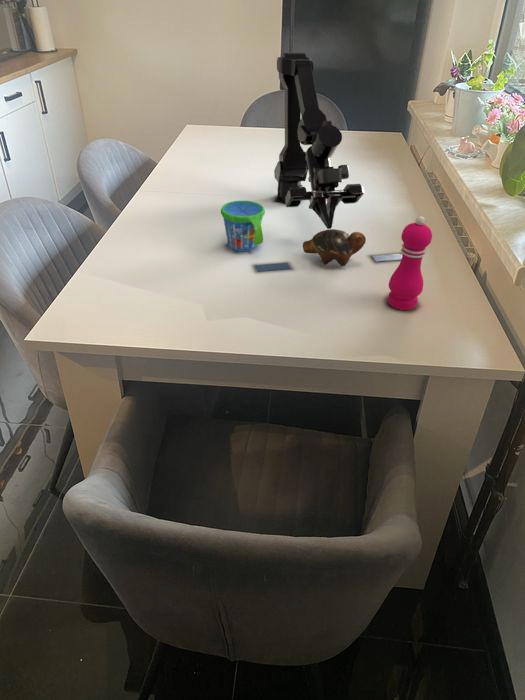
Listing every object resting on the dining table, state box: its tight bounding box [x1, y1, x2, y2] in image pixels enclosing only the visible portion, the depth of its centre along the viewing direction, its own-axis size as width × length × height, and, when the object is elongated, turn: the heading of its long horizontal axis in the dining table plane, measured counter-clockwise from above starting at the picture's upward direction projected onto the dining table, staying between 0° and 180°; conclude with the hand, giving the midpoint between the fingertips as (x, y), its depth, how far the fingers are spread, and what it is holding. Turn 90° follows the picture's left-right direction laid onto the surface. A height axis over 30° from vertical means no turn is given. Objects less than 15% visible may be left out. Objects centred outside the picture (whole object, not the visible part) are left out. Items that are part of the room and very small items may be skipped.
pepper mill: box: [387, 215, 433, 311], centre depth 113 cm, size 7×7×20 cm
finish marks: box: [255, 253, 402, 273], centre depth 133 cm, size 3×38×1 cm, turn 103°
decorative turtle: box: [302, 228, 367, 267], centre depth 131 cm, size 10×15×8 cm, turn 80°
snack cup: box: [220, 200, 266, 252], centre depth 136 cm, size 16×10×10 cm
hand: (329, 228), depth 132 cm, fingers closed, pressing on decorative turtle
